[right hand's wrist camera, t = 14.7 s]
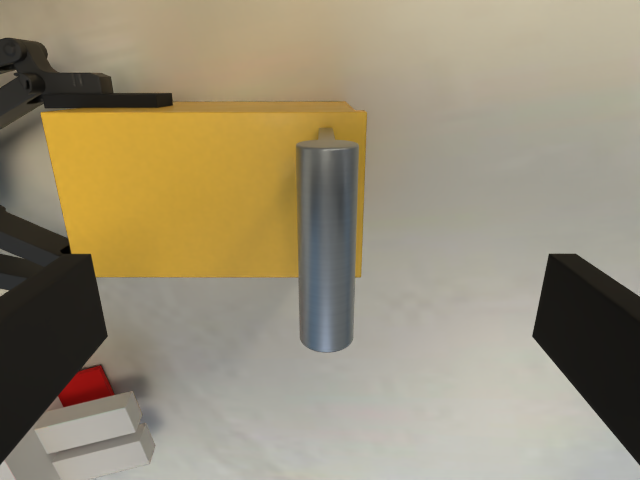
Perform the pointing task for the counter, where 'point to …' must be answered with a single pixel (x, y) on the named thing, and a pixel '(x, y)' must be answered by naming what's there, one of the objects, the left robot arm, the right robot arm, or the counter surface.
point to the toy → (82, 435)
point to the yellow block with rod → (220, 200)
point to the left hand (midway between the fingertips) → (174, 180)
